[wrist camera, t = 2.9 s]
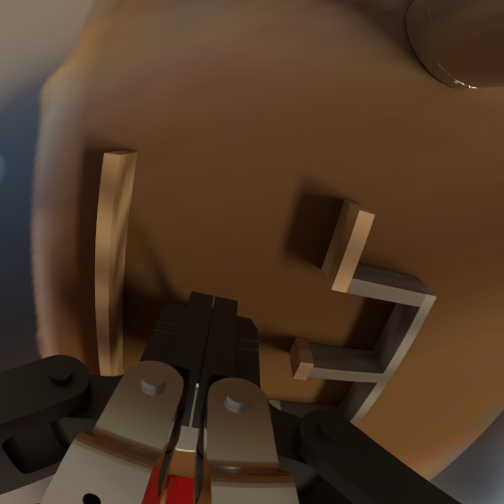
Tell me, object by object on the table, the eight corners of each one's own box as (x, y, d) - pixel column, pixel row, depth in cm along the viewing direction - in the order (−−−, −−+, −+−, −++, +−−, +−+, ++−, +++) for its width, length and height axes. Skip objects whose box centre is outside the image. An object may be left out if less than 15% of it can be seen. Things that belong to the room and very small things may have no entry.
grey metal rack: (124, 149, 21) (104, 152, 18) (437, 229, 23) (459, 243, 20) (117, 407, 32) (108, 428, 28) (322, 441, 34) (326, 462, 31)
